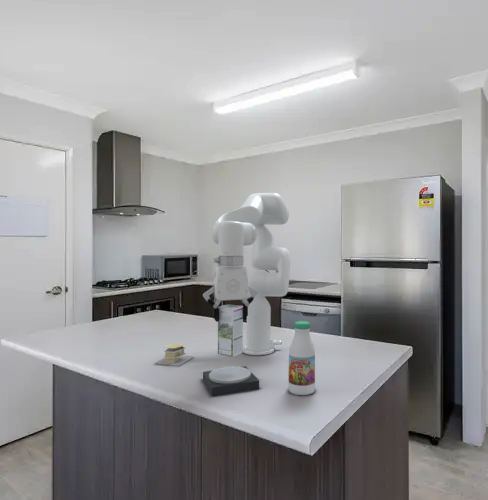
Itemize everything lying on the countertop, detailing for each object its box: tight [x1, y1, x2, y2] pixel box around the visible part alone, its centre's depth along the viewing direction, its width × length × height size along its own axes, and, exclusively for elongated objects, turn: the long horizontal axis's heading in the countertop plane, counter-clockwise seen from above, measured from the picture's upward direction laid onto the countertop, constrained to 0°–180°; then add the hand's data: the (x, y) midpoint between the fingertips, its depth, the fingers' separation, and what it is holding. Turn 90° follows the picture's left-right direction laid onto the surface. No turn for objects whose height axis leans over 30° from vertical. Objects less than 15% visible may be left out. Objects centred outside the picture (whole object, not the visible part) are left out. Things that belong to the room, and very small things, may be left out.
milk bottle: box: [288, 320, 316, 396], centre depth 107 cm, size 8×8×20 cm
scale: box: [202, 365, 260, 397], centre depth 112 cm, size 14×14×3 cm
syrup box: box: [217, 304, 244, 357], centre depth 111 cm, size 6×6×14 cm
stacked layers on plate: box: [156, 342, 193, 367], centre depth 134 cm, size 10×9×6 cm
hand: (230, 319), depth 111 cm, fingers closed on syrup box, 7 cm apart
